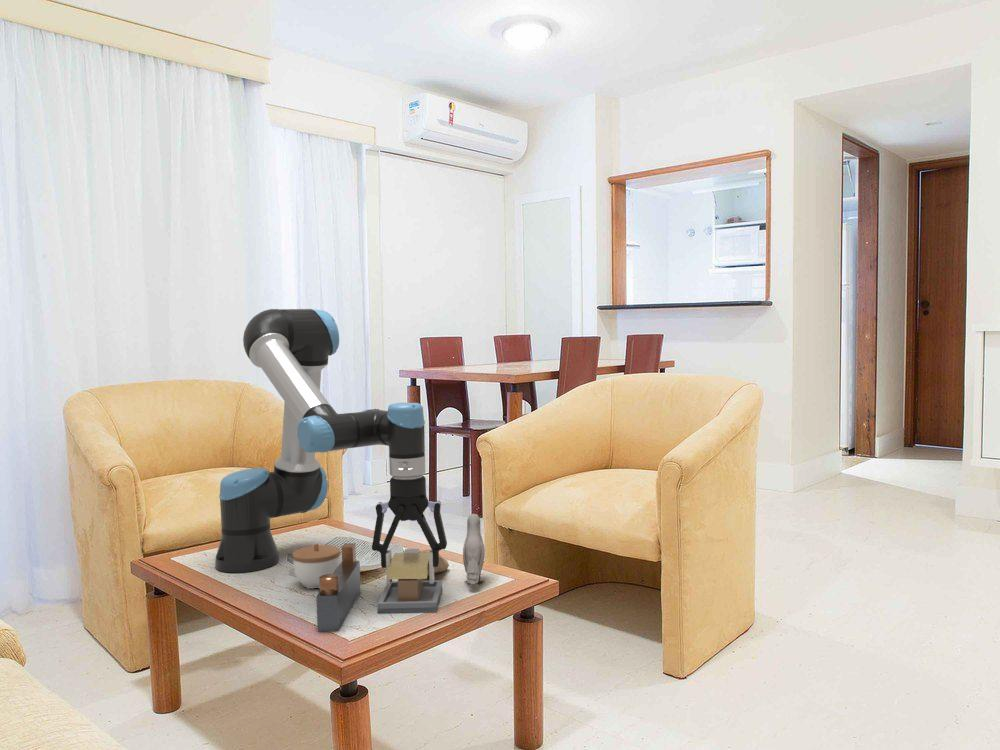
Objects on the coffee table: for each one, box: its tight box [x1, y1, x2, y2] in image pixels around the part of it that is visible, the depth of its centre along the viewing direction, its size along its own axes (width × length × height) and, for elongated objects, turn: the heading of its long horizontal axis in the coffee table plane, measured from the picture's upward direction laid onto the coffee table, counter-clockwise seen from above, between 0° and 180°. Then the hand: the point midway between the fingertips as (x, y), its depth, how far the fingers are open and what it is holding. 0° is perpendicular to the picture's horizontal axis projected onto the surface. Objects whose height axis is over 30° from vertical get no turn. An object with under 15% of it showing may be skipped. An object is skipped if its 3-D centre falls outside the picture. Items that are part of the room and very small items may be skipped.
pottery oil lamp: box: [419, 549, 450, 576], centre depth 175 cm, size 9×12×7 cm
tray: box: [376, 579, 443, 614], centre depth 159 cm, size 14×12×6 cm
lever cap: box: [388, 548, 429, 580], centre depth 158 cm, size 10×8×4 cm
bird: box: [462, 513, 486, 586], centre depth 169 cm, size 5×14×15 cm, turn 179°
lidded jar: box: [291, 543, 342, 589], centre depth 171 cm, size 11×11×9 cm
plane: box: [315, 542, 362, 633], centre depth 154 cm, size 22×4×11 cm, turn 0°
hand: (410, 581), depth 159 cm, fingers open, 8 cm apart
